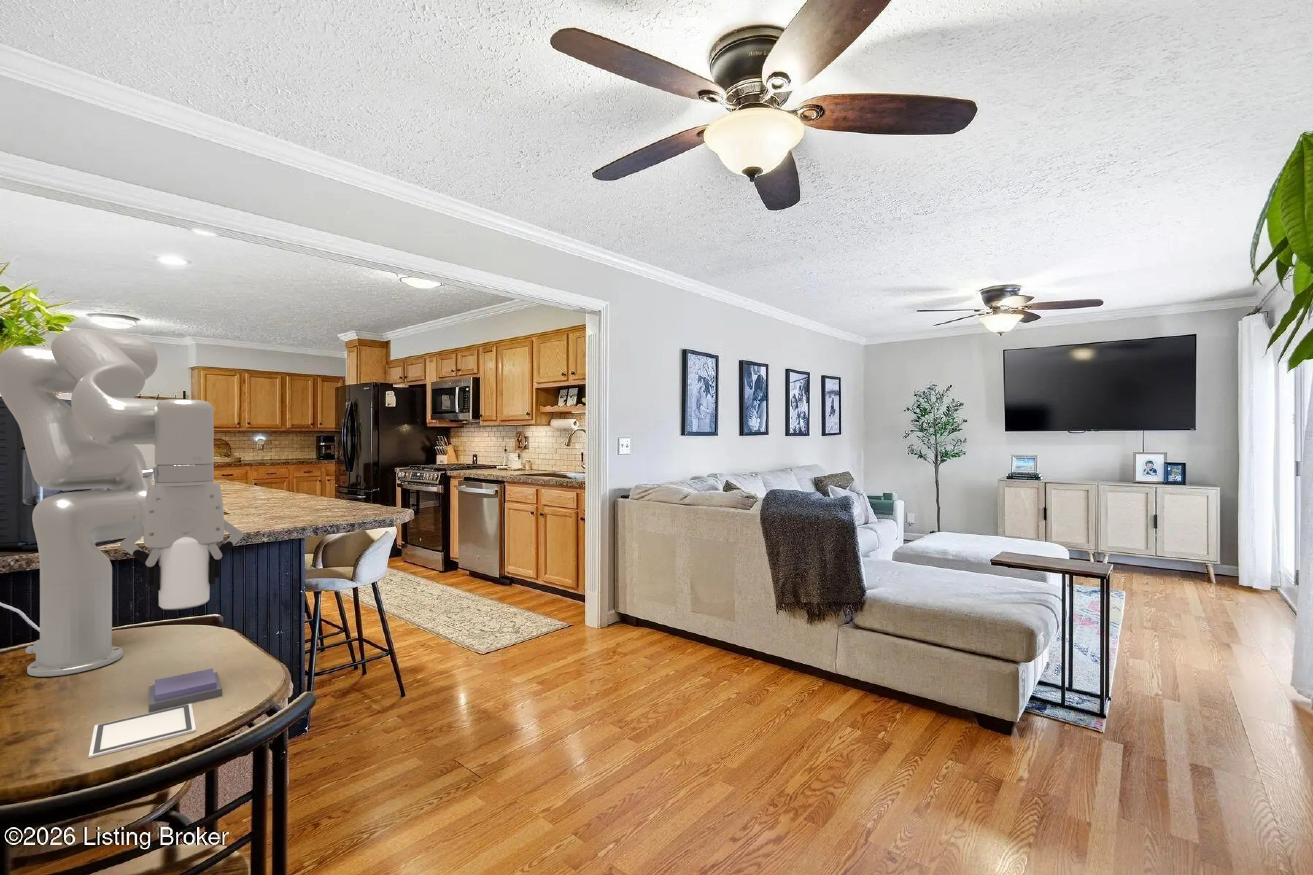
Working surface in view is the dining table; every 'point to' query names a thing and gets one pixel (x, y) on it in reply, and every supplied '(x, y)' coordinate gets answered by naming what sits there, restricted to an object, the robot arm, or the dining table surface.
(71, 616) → the robot arm
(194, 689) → the ink pad
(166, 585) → the can
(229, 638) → the dining table surface
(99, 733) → the marked card
